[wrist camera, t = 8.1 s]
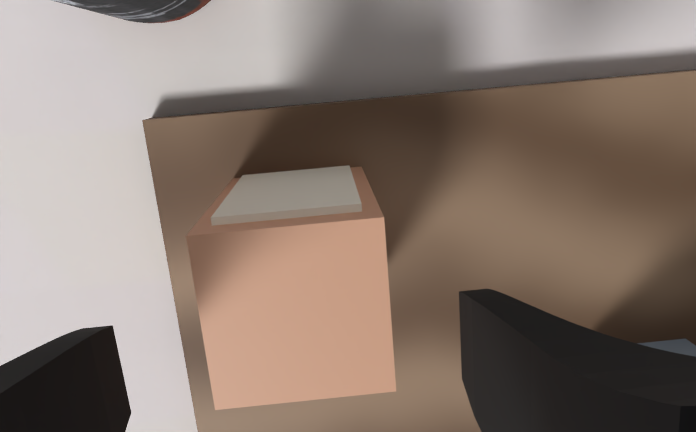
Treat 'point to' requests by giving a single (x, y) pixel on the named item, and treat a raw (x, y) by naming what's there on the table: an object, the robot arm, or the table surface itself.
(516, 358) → the robot arm
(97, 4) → the supplement bottle
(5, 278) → the table surface
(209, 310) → the peach carton
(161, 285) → the table surface
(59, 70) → the table surface
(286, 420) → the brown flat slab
